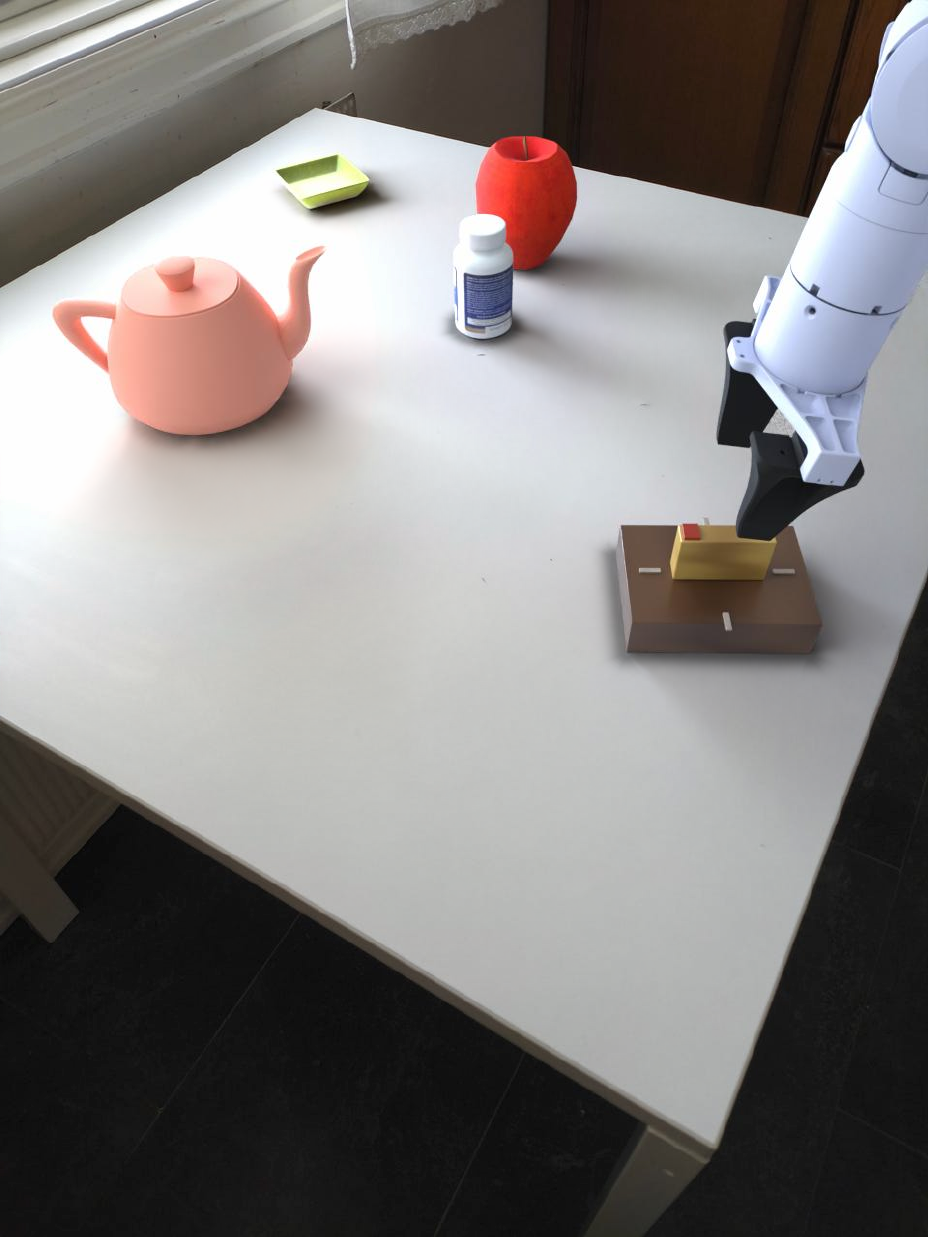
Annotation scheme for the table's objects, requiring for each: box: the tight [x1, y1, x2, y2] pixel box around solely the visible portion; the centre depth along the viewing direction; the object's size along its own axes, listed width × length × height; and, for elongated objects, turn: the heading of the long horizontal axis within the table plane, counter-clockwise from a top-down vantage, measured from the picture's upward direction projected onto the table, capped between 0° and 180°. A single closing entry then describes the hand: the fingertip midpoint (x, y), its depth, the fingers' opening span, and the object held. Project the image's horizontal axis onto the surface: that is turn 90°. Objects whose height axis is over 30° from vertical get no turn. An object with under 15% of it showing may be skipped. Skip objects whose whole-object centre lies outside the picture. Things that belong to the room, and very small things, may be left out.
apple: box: [474, 135, 578, 271], centre depth 88 cm, size 10×10×12 cm
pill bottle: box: [452, 214, 514, 340], centre depth 82 cm, size 5×5×10 cm
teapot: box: [52, 245, 327, 436], centre depth 74 cm, size 22×15×12 cm
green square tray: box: [272, 153, 371, 210], centre depth 104 cm, size 9×9×2 cm
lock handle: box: [670, 523, 777, 580], centre depth 58 cm, size 6×2×4 cm, turn 88°
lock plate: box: [615, 517, 824, 655], centre depth 61 cm, size 12×10×3 cm
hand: (742, 486), depth 53 cm, fingers open, 7 cm apart
